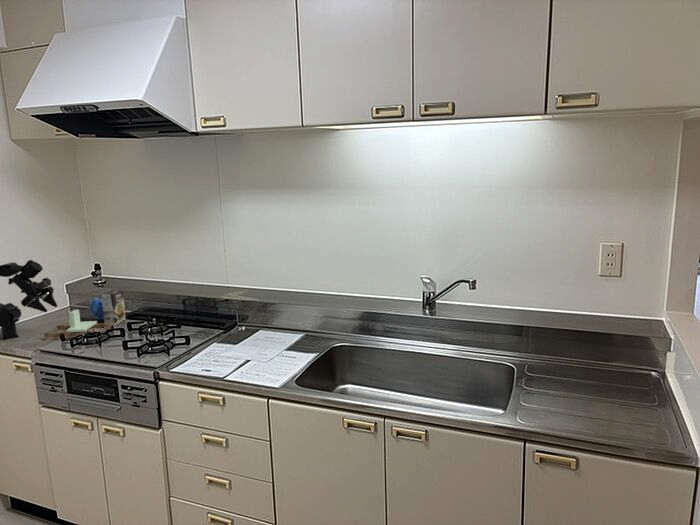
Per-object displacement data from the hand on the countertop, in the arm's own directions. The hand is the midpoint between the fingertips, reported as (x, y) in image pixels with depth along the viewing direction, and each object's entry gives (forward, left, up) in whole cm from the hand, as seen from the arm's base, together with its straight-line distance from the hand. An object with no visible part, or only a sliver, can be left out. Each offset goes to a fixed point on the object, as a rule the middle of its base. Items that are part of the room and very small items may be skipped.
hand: (51, 309), depth 238 cm
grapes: (-13, +23, -13) cm, 29 cm away
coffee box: (-2, +28, -13) cm, 31 cm away
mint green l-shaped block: (+7, +11, -10) cm, 16 cm away
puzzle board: (+6, +10, -13) cm, 17 cm away
